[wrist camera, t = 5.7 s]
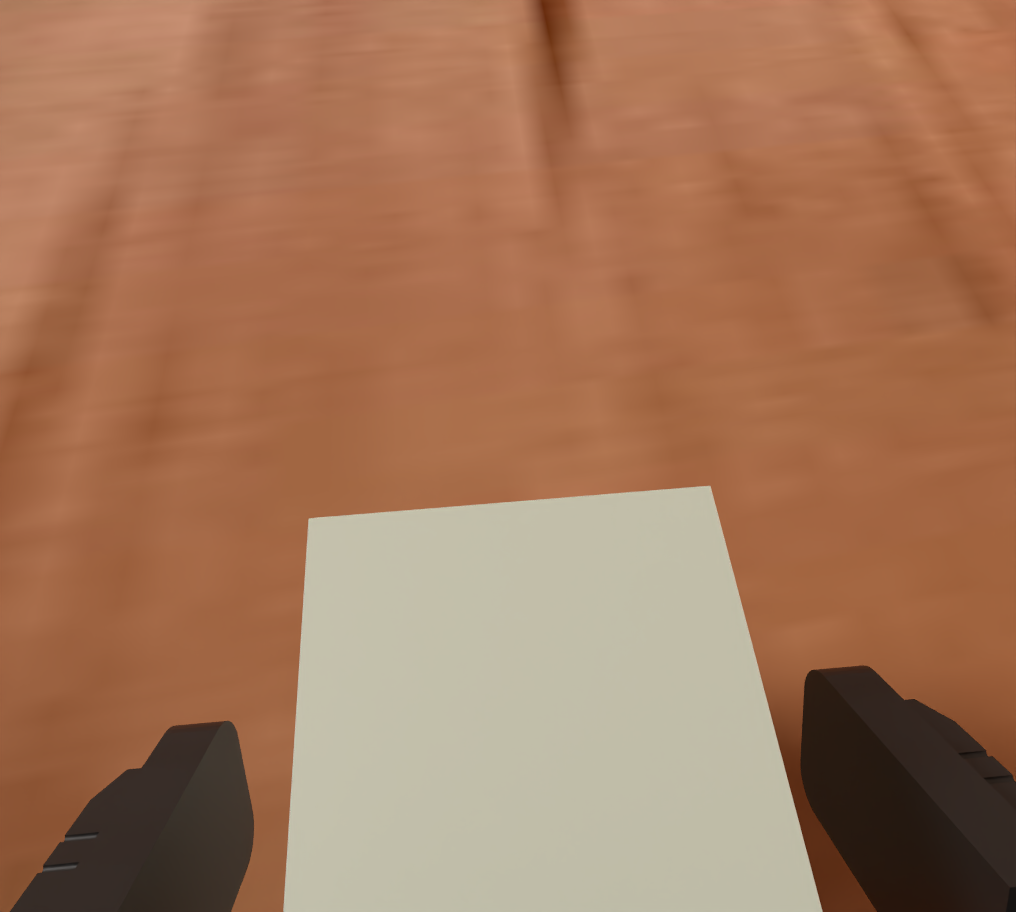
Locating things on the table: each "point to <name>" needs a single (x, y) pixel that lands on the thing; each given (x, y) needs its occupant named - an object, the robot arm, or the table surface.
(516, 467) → the table surface
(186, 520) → the table surface
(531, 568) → the sage block
